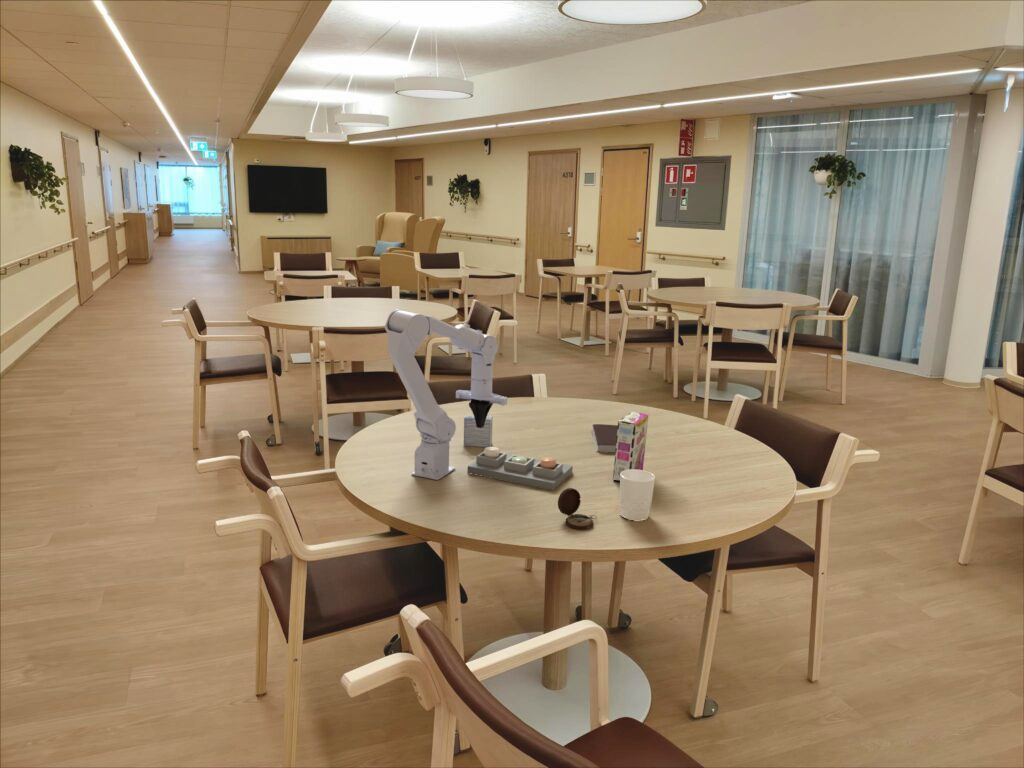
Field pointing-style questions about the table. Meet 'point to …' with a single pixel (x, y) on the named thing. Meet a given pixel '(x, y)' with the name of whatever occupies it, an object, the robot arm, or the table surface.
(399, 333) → the robot arm
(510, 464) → the button board
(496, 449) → the off-white button
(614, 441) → the book
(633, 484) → the white cup
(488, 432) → the medicine box
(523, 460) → the sage green button
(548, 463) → the terracotta button
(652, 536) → the table surface
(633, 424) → the candy bar box
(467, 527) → the table surface
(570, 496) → the compass
